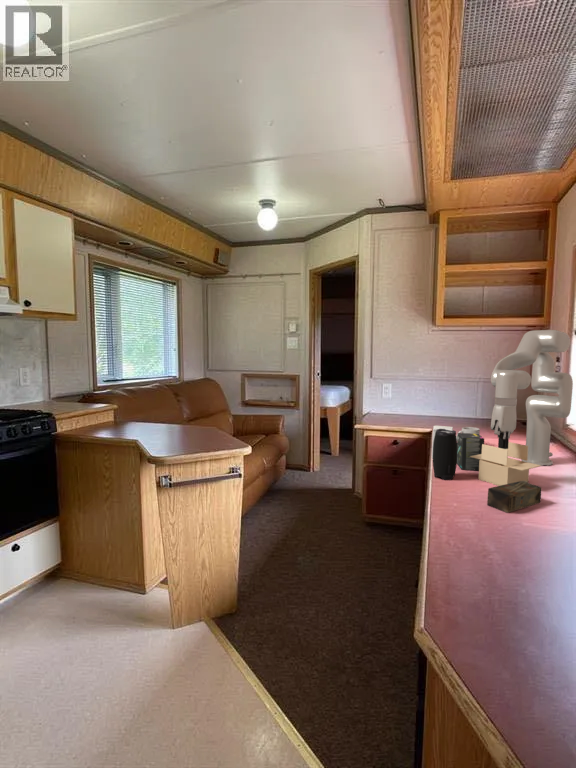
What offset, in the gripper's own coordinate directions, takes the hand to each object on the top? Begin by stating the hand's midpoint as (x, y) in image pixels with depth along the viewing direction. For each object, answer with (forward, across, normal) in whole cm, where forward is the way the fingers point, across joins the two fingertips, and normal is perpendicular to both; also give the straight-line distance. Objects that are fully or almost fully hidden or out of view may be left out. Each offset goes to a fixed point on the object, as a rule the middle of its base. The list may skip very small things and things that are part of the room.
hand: (503, 448), depth 161 cm
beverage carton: (+14, +18, +16) cm, 29 cm away
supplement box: (+13, -9, -36) cm, 40 cm away
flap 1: (+2, +5, 0) cm, 6 cm away
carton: (+13, -2, 0) cm, 14 cm away
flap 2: (+2, -8, 0) cm, 8 cm away
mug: (+13, -40, -45) cm, 62 cm away
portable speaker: (+14, +15, -15) cm, 26 cm away
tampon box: (+14, -6, -19) cm, 24 cm away
